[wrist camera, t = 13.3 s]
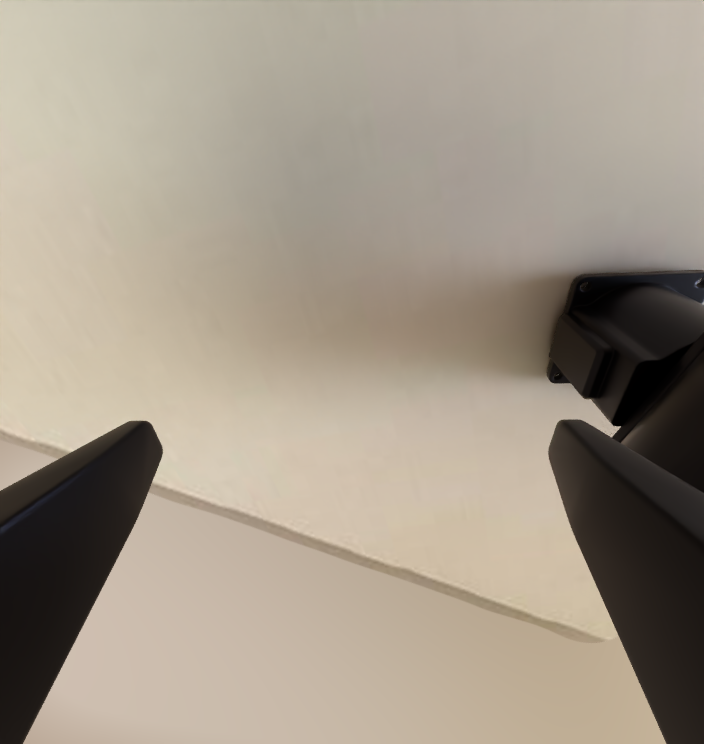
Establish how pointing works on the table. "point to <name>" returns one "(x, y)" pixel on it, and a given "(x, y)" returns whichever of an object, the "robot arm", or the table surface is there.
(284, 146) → the table surface
